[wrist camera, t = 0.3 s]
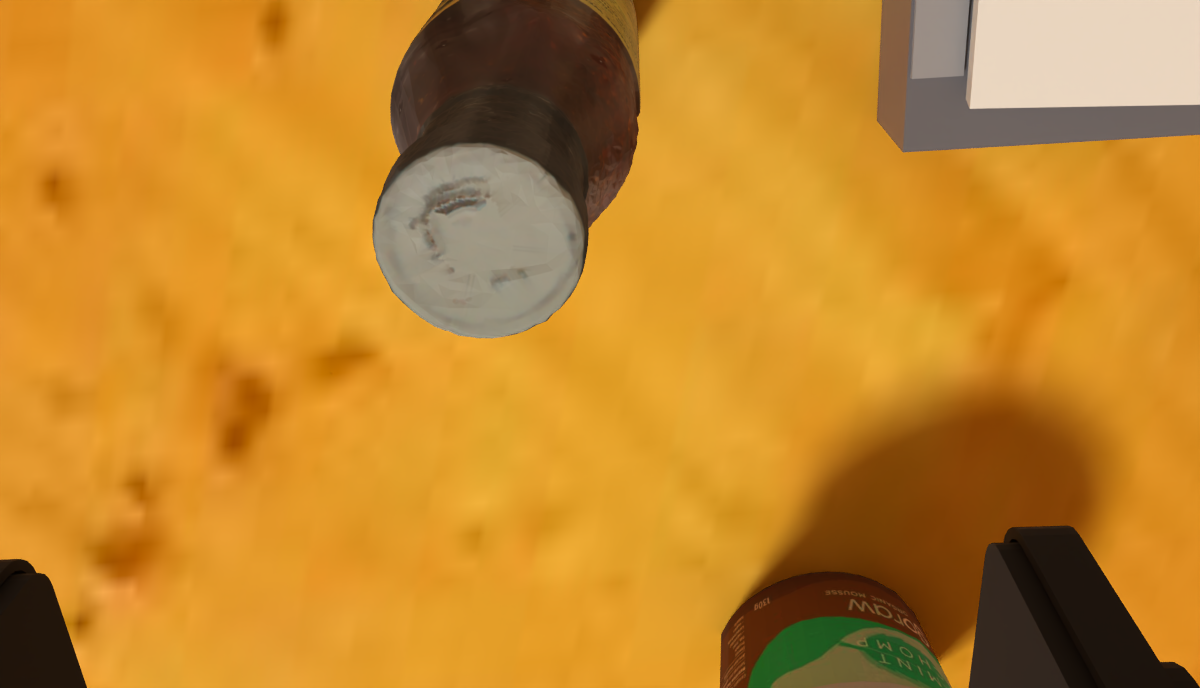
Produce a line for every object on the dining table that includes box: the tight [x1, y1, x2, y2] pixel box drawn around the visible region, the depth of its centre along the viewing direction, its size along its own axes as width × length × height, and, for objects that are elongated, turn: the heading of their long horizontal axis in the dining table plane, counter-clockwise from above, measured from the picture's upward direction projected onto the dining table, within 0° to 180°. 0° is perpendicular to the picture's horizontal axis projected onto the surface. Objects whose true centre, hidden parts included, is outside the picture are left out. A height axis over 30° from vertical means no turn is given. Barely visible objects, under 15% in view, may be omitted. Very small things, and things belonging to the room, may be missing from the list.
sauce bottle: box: [373, 0, 640, 338], centre depth 29 cm, size 7×6×20 cm
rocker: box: [966, 0, 1200, 109], centre depth 32 cm, size 4×8×2 cm, turn 94°
